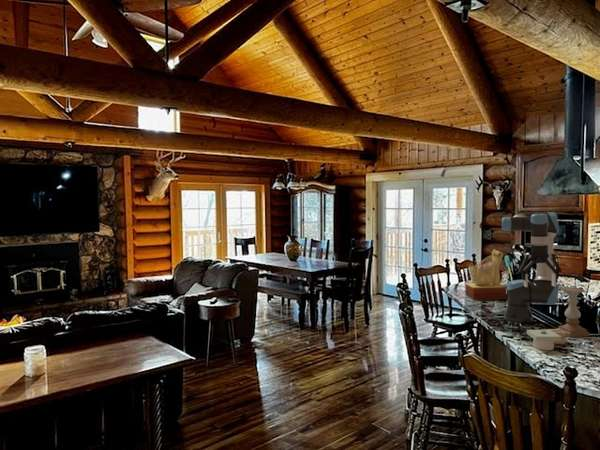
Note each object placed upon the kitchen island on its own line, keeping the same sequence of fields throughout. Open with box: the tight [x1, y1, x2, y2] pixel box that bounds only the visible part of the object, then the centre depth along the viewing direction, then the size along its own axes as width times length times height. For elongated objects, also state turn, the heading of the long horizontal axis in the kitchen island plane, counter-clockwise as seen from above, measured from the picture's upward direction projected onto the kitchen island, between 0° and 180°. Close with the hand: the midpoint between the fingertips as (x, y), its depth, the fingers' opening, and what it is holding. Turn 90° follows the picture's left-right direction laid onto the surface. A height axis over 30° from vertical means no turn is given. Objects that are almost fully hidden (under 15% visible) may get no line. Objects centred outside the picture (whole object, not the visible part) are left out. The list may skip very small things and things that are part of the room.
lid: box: [526, 329, 561, 341], centre depth 213 cm, size 11×11×3 cm
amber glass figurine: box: [465, 248, 507, 301], centre depth 325 cm, size 25×18×35 cm
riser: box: [546, 328, 567, 345], centre depth 221 cm, size 6×6×6 cm
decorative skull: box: [480, 262, 503, 284], centre depth 363 cm, size 18×26×20 cm, turn 171°
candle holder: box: [556, 286, 591, 338], centre depth 233 cm, size 11×11×24 cm
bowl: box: [532, 338, 555, 351], centre depth 213 cm, size 8×8×5 cm
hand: (539, 286), depth 225 cm, fingers open, 13 cm apart
